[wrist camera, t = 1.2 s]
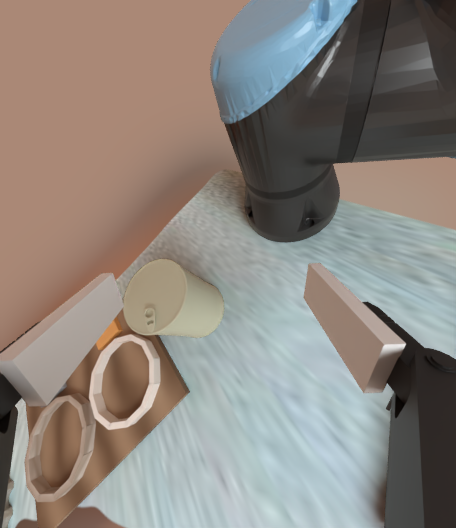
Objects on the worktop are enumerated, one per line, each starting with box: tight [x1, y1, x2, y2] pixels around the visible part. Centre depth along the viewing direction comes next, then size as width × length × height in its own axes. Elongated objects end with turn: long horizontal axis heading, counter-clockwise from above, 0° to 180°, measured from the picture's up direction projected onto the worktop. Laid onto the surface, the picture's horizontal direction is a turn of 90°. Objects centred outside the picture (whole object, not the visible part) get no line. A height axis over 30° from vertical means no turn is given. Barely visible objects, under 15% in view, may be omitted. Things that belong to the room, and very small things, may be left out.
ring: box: [89, 316, 160, 430], centre depth 32 cm, size 13×18×2 cm
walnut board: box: [25, 308, 190, 528], centre depth 32 cm, size 29×21×2 cm
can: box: [123, 259, 224, 338], centre depth 27 cm, size 9×9×12 cm
